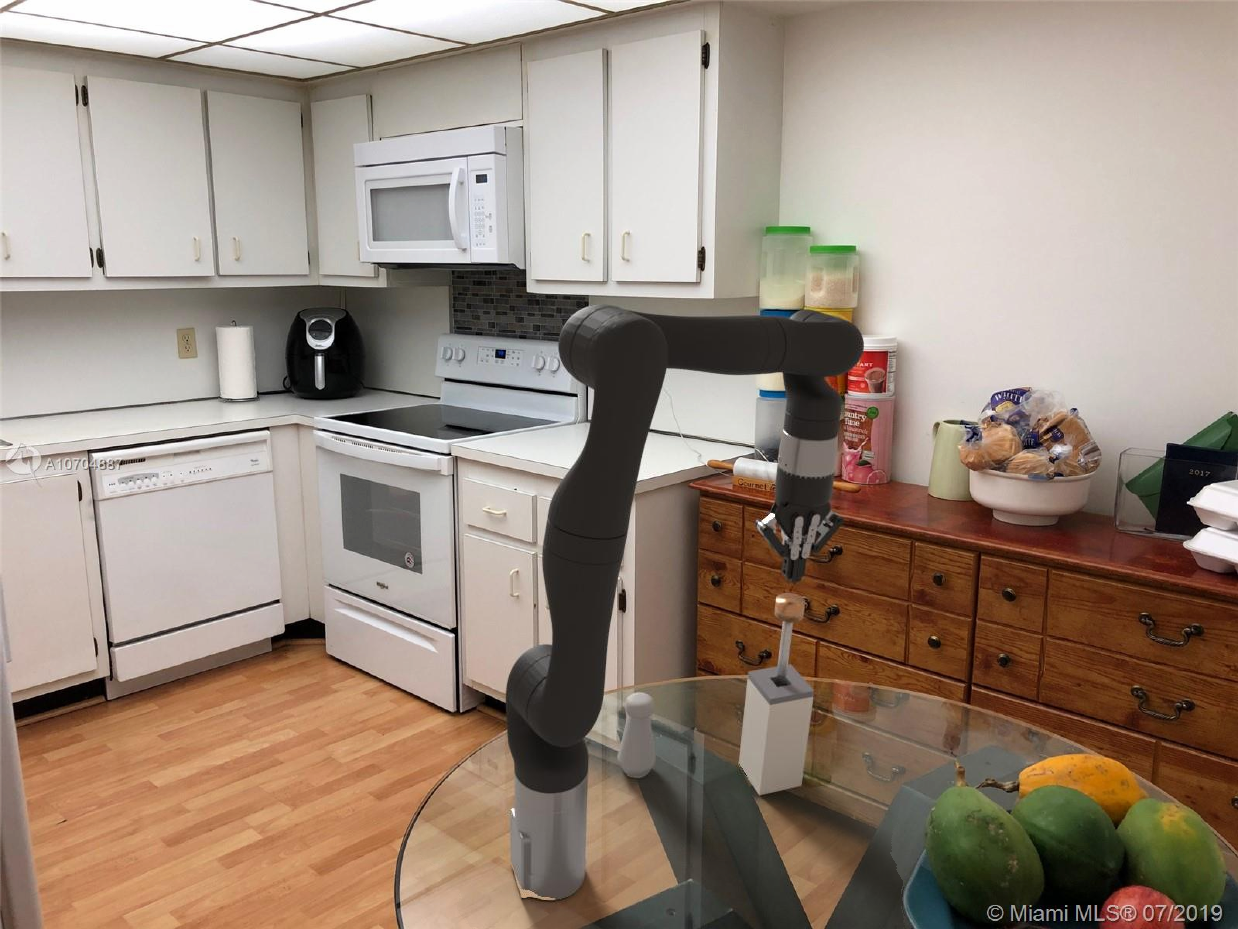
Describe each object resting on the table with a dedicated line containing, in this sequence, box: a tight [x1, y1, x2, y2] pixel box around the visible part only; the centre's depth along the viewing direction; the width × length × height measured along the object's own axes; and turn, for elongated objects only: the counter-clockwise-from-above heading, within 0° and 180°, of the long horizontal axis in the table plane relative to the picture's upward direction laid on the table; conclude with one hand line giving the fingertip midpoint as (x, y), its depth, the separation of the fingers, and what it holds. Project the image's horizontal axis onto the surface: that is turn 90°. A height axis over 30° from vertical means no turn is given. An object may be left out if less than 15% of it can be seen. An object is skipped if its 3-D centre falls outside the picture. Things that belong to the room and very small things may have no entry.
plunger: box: [774, 592, 806, 687], centre depth 139 cm, size 4×4×17 cm
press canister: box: [738, 663, 815, 796], centre depth 144 cm, size 7×7×17 cm
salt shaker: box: [617, 692, 657, 777], centre depth 145 cm, size 6×6×13 cm
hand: (792, 579), depth 135 cm, fingers closed
